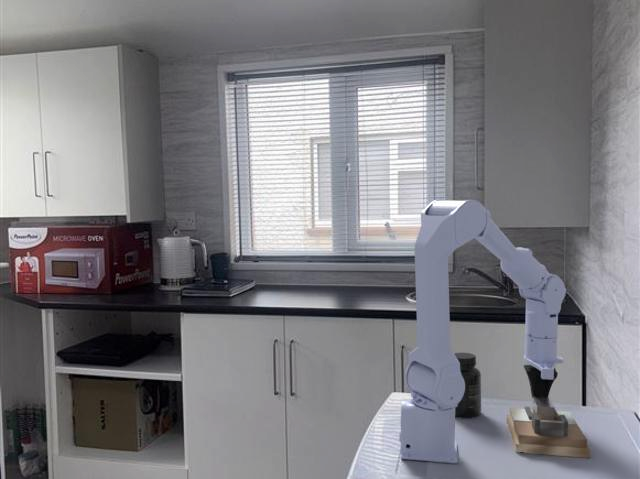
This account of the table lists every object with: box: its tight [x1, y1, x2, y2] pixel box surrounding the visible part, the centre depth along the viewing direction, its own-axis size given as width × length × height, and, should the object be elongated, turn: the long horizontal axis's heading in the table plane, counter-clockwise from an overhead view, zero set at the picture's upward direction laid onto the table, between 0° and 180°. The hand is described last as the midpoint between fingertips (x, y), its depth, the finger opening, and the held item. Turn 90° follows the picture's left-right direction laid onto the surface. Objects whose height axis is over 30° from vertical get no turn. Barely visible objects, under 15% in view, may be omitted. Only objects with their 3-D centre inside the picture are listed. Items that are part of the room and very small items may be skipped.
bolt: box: [531, 396, 556, 421], centre depth 105 cm, size 3×5×3 cm, turn 168°
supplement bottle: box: [453, 352, 482, 419], centre depth 115 cm, size 7×7×12 cm
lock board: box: [506, 405, 591, 459], centre depth 102 cm, size 12×13×6 cm
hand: (539, 404), depth 108 cm, fingers closed
